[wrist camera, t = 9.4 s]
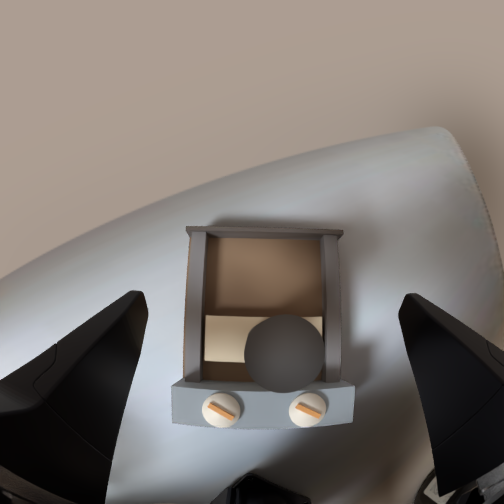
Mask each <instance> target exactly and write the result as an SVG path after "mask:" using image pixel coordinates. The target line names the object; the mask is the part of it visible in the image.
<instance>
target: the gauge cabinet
mask: <svg viewBox="0 0 504 504" xmlns="http://www.w3.org/2000/svg"><path fill="white" fill-rule="evenodd" d="M171 395H172V423H175V424H183V425H191V426H200V427H212V428H227V429H293V428H308V427H319V426H329V425H337V424H344V423H351V422H353V410H354V397H355V386H354V385H352V384H350V383H348V382H346V381H344V380H342V379H340V382H334V383H325V382H323V381H322V380H316V381H313V382H311V383H310V384H309V385H308V386H306V387H305V388H303V389H301V390H298V391H295V392H291V393H275V392H271V391H268V390H266V389H264V388H262V387H261V386H259V385H258V384H257V383H256V382H233V381H213V380H202V381H201V382H200V383H195V382H185V378H182V379H181V380H179V381H178V382H176V383H175V384H174V385H172V386H171Z"/></svg>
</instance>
